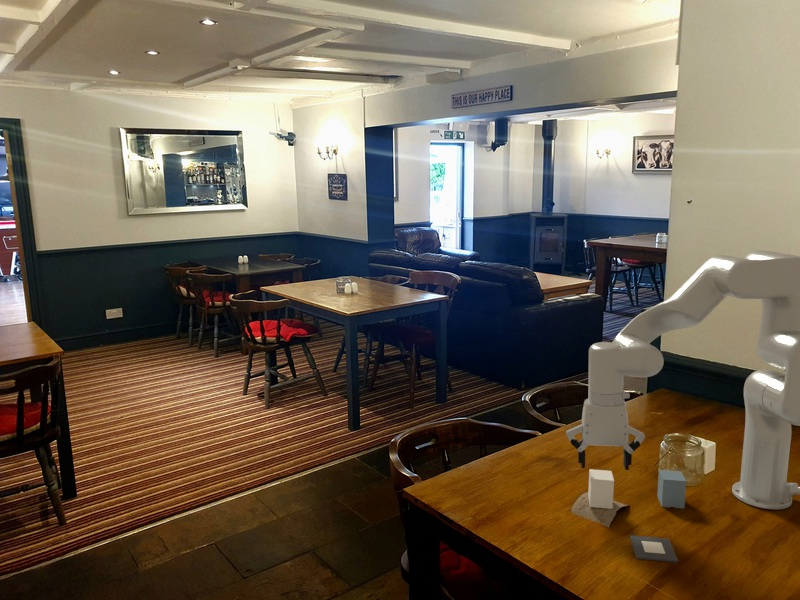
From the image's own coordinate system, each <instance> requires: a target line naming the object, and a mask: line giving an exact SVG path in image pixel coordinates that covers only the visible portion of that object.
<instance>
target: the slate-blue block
mask: <svg viewBox="0 0 800 600" xmlns="http://www.w3.org/2000/svg"><path fill="white" fill-rule="evenodd" d="M657 480H658V482H657V495H656V496H657V499H658V502H659V501H660V502H659V504H660V506H661V507H662V508H670V507H675V508H674V509H685V506H686V503H685V502H686V491H687V490H686V489H687V480H686V478H685V477H684V474H683V473H682V471H680V470H668V469H667V470H665V469H659V470H658V479H657Z"/></svg>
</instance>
